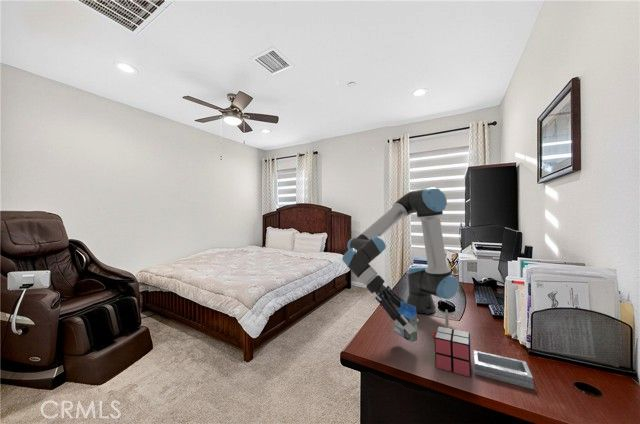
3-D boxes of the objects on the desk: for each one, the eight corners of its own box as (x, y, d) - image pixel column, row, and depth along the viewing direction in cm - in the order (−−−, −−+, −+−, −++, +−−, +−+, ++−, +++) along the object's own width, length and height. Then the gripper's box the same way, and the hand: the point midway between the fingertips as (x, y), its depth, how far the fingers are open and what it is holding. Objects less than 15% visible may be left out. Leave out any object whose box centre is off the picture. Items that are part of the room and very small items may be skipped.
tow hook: (430, 333, 103) (437, 343, 94) (429, 303, 104) (435, 310, 95) (451, 335, 102) (460, 345, 93) (449, 304, 103) (458, 310, 94)
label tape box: (393, 332, 96) (392, 301, 96) (401, 330, 97) (400, 300, 98) (410, 342, 88) (408, 309, 88) (418, 340, 89) (416, 307, 90)
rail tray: (473, 358, 84) (473, 349, 84) (525, 370, 77) (525, 360, 77) (475, 374, 75) (475, 364, 75) (533, 389, 68) (533, 378, 68)
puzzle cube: (471, 378, 73) (469, 345, 74) (435, 368, 79) (434, 337, 79) (470, 361, 82) (469, 332, 82) (438, 353, 87) (437, 325, 88)
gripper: (373, 280, 110) (412, 322, 101) (356, 293, 92) (401, 345, 83) (384, 269, 107) (425, 311, 99) (369, 280, 89) (417, 333, 81)
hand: (414, 327), depth 91 cm, fingers closed on label tape box, 8 cm apart
